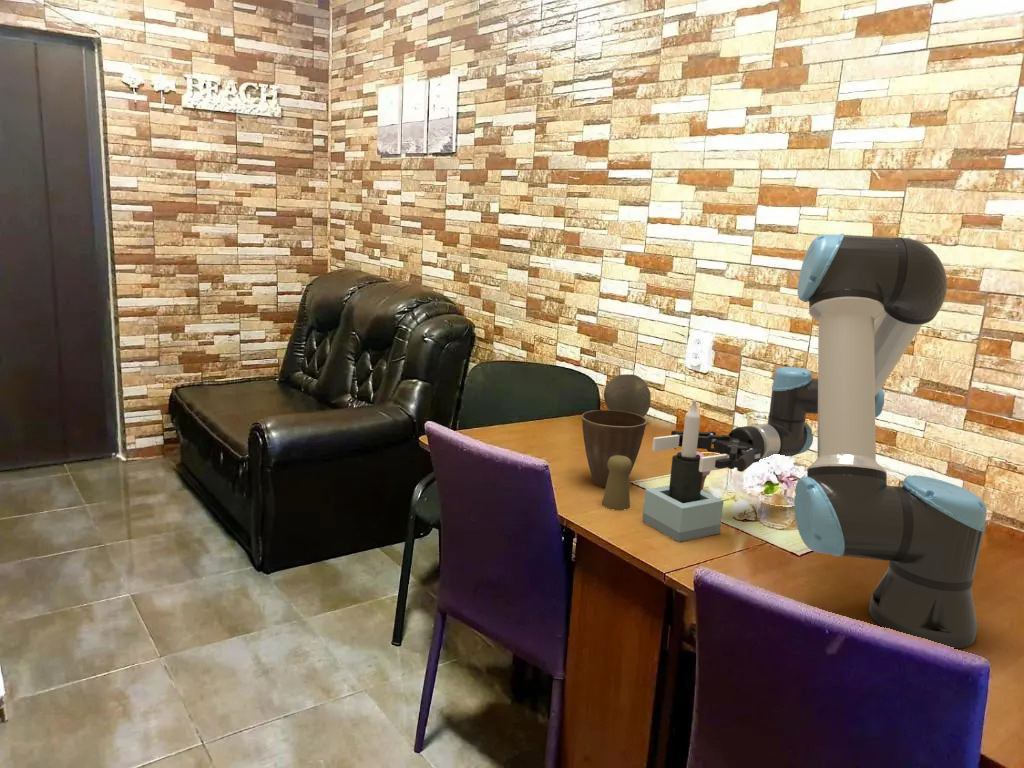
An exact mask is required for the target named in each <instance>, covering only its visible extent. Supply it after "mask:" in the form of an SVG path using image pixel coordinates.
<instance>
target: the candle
mask: <svg viewBox="0 0 1024 768" xmlns="http://www.w3.org/2000/svg"><path fill="white" fill-rule="evenodd" d="M691 402H692V403H691V405H690V408H689V410H688V411H687V412H686V414H685V415H684V416H685V417H684V423H683V431H684V432H683V442H682V447H681V450H680V451H681V452H680V451H678V452H676V453H677V455H676V454H674V455H672V458H671V459H672V460H671V466H672V467H671V469H670V478H669V479H670V480H669V485H670V486H669V485H668V486H669V497H671V498H673V499H675V500H677V501H679V502H681V503H688V502H693V501H699V500H700V493H701V484H702V476H703V472H700V471H699V464H700V455H696V452H698V451H697V450H698V448H697V443H698V434H699V432H700V426H701V425H700V424H701V422H700V421H701V415H700V413H699V411H698V407H697V402H698V401H697V399H696V398H693V399H692V400H691Z"/></svg>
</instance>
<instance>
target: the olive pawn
mask: <svg viewBox="0 0 1024 768" xmlns="http://www.w3.org/2000/svg"><path fill="white" fill-rule="evenodd" d="M607 465H608V469H609V475H608V479H607V484H606V488H605V487H604V493H603V497H602V501H601V505H602V506H603V507H604V506H605V507H604V508H606V507H607V508H606V509H608V508H610V509H609V510H612V509H614V510H613V511H625V510H624V509H626V510H629V508H630V507H631V505H630V504H631V501H630V498H631V497H630V483H629V481H630V479H629V477H630V475H629V474H628V473H629V472H630V470H631V468H632V463H631V460H630V459H629V458H628V457H625V456H620V455H615V456H612V457H610V458H609V460H608V463H607ZM632 469H633V468H632Z"/></svg>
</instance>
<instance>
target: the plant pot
mask: <svg viewBox="0 0 1024 768" xmlns="http://www.w3.org/2000/svg"><path fill="white" fill-rule="evenodd" d="M647 422H648V421H647V418H645V416H644V417H642V416H640V415H637V414H634V413H630V412H624V411H616V410H609V409H597V410H589V411H586V412H584V413H582V415H581V424H582V426H581V427H582V435H583V443H584V448H585V454H586V459H587V463H588V468H589V471H590V474H591V479H592V480H593V483H594V485H597V486H599V487H601V488H604V489H605V488H606V484H607V479H608V475H609V469H608V465H607V463H608V460H609V458H610V457H612V456H615V455H620V456H625V457H628V458H629V459H630V460H631V463H632V468H631V470H630V472H629V473H628V474H629V476H630V475H631V473H632V470H633V468H634V465H635V462H637V461H636V460H637V457H638V455H639V452H640V448H641V447H642V446H641V445H642V441H643V438H644V434H645V431H646V425H647Z"/></svg>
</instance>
